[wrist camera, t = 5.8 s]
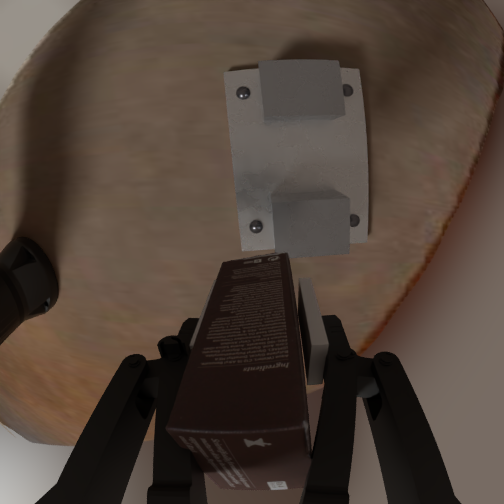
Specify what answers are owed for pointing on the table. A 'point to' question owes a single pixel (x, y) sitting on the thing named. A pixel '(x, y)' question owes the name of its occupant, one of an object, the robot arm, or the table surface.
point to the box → (247, 382)
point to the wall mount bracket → (299, 156)
